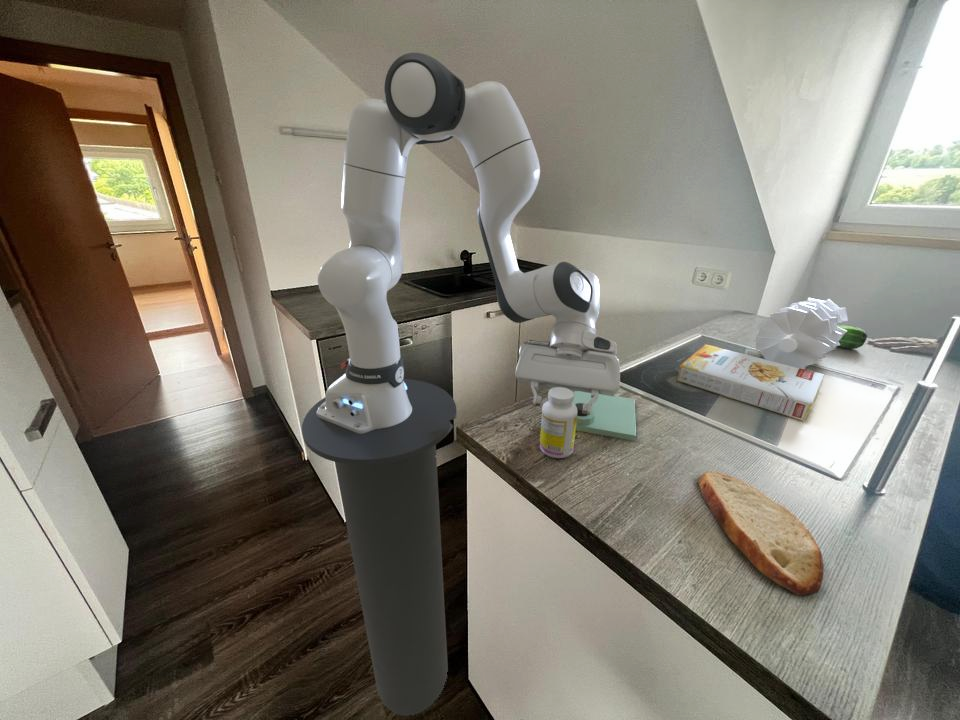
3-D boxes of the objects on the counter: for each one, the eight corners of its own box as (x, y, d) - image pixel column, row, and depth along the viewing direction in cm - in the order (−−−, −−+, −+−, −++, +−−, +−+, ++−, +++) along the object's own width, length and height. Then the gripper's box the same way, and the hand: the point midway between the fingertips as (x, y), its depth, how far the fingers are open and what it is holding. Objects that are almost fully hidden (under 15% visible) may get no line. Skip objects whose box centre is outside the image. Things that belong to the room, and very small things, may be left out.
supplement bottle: (560, 436, 81) (566, 382, 76) (579, 454, 76) (587, 397, 70) (533, 443, 79) (536, 388, 74) (550, 463, 73) (556, 404, 68)
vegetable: (871, 327, 120) (792, 314, 133) (862, 349, 120) (784, 333, 134) (869, 332, 125) (793, 319, 139) (860, 353, 126) (785, 338, 139)
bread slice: (703, 472, 71) (708, 455, 69) (829, 526, 60) (839, 508, 58) (666, 528, 59) (671, 510, 58) (815, 610, 48) (826, 590, 46)
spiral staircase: (757, 377, 116) (785, 353, 130) (834, 373, 101) (856, 346, 115) (742, 319, 114) (772, 300, 128) (818, 306, 99) (843, 287, 113)
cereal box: (704, 342, 115) (826, 371, 97) (700, 359, 117) (818, 391, 99) (679, 364, 102) (815, 402, 84) (675, 382, 104) (806, 423, 86)
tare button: (573, 415, 84) (573, 408, 83) (574, 408, 86) (575, 402, 86) (587, 418, 83) (588, 411, 82) (588, 411, 85) (589, 404, 85)
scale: (564, 428, 84) (565, 416, 83) (572, 394, 98) (574, 383, 97) (634, 441, 80) (637, 429, 78) (633, 404, 94) (635, 393, 92)
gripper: (520, 332, 79) (506, 396, 75) (625, 344, 73) (617, 414, 69) (523, 345, 85) (511, 405, 81) (621, 356, 79) (614, 422, 75)
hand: (560, 409), depth 75 cm, fingers open, 8 cm apart
